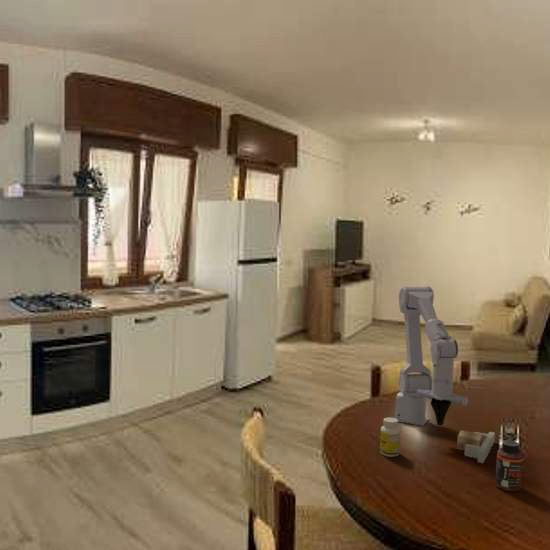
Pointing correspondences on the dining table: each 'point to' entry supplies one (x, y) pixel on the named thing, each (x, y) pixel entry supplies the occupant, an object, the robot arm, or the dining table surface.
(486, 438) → the bracket
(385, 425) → the supplement bottle
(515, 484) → the supplement bottle
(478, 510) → the dining table surface
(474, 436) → the maple block
